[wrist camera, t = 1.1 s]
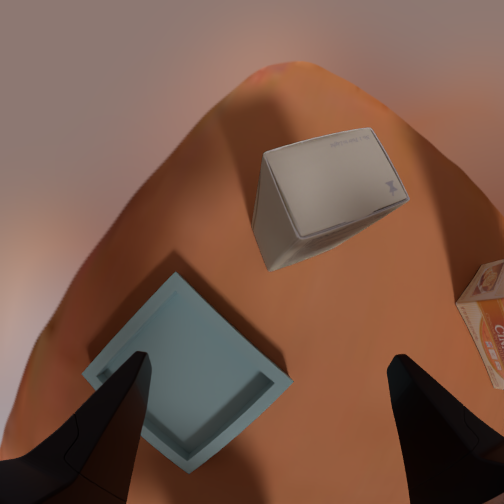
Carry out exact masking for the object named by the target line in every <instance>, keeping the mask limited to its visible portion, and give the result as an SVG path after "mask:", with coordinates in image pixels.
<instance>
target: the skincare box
mask: <svg viewBox="0 0 504 504" xmlns="http://www.w3.org/2000/svg"><path fill="white" fill-rule="evenodd" d="M409 200H410V198H409V196H408V194H407V192H406V190H405V188H404V185H403V183H402V181H401V179H400V177H399V175H398V173H397V171H396V169H395V167H394V166H393V164H392V162H391V160H390V158H389V156H388V154H387V152H386V151H385V149H384V147H383V146H382V144H381V142H380V141H379V139H378V137H377V136H376V134H375V133H374V131H373V130H372V129H371V128H360V129H354V130H348V131H343V132H338V133H333V134H328V135H324V136H320V137H316V138H312V139H308V140H304V141H300V142H296V143H293V144H289V145H286V146H282V147H278V148H275V149H272V150H269V151H266V152H264V153H263V157H262V163H261V170H260V176H259V181H258V188H257V194H256V200H255V206H254V212H253V218H252V223H251V227H252V230H253V232H254V235H255V238H256V241H257V244H258V246H259V249H260V252H261V255H262V257H263V260H264V262H265V265H266V267H267V270H268V271H270V272H271V271H274V270H277V269H280V268H283V267H286V266H289V265H292V264H295V263H297V262H300V261H303V260H305V259H308V258H311V257H313V256H316V255H319V254H321V253H323V252H326V251H328V250H331V249H333V248H335V247H336V246H338V245H340V244H341V243H343V242H344V241H346V240H348V239H349V238H351V237H353V236H354V235H356V234H357V233H359V232H361V231H362V230H364V229H366V228H367V227H369V226H370V225H372V224H374V223H375V222H377V221H378V220H380V219H382V218H383V217H385V216H386V215H388V214H389V213H391V212H393V211H394V210H396V209H397V208H399V207H400V206H402V205H403V204H405V203H406V202H408V201H409Z"/></svg>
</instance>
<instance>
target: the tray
mask: <svg viewBox="0 0 504 504" xmlns="http://www.w3.org/2000/svg"><path fill="white" fill-rule="evenodd" d="M135 351H143V352H147V353H148V355H149V359H150V362H151V365H152V375H151V382H150V389H149V397H148V404H147V410H146V415H145V419H144V423H143V427H142V431H141V436H142V437H143V438H144V439H145V440H146V441H148V442H149V443H150V444H151V445H152V446H153V447H155V448H156V449H157V450H158V451H159V452H161V453H162V454H163V455H164V456H166V457H167V458H168V459H169V460H171V461H172V462H173V463H175V464H176V465H177V466H179V467H180V468H181V469H183V470H184V471H185V472H187V473H188V474H190V473H191V472H193V471H194V470H195V469H197V468H198V467H199V466H201V465H202V464H203V463H204V462H206V461H207V460H208V459H209V458H211V457H212V456H213V455H214V454H216V453H217V452H218V451H219V450H221V449H222V448H223V447H224V446H225V445H227V444H228V443H229V442H230V441H231V440H233V439H234V438H235V437H236V436H237V435H238V434H239V433H241V432H242V431H243V430H244V429H245V428H246V427H247V426H248V425H250V424H251V423H252V422H253V421H254V420H255V419H256V418H257V417H258V416H259V415H260V414H262V413H263V412H264V411H265V410H266V409H267V408H268V407H269V406H270V405H271V404H272V403H273V402H274V401H275V400H276V399H277V398H278V397H279V396H280V395H281V394H282V393H283V392H284V391H285V390H286V389H287V388H288V387H289V386H290V385H291V384H292V383H293V382H294V381H293V380H292V379H291V378H290V376H289V375H287V374H286V373H285V372H284V371H283V370H282V369H280V368H279V367H278V366H277V365H276V364H275V363H274V362H272V361H271V360H270V359H269V358H268V357H267V356H266V355H264V354H263V353H262V352H261V351H260V350H259V349H258V348H257V347H256V346H254V345H253V344H252V343H251V342H250V341H249V340H248V339H247V338H246V337H245V336H243V335H242V334H241V333H240V332H239V331H238V330H237V329H236V328H235V327H234V326H233V325H232V324H230V323H229V322H228V321H227V320H226V319H225V318H224V317H223V316H222V315H221V314H220V313H219V312H218V311H217V310H216V309H215V308H214V307H213V306H212V305H211V304H210V303H209V302H208V301H206V300H205V299H204V298H203V297H202V296H201V295H200V294H199V293H198V292H197V291H196V290H195V289H194V288H193V287H192V286H191V285H190V284H189V283H188V282H187V281H186V280H185V279H184V278H183V277H182V276H181V275H180V274H179V273H177V272H176V271H175V273H174V274H173V275H172V276H171V277H170V278H169V279H168V280H167V281H166V282H165V283H164V284H163V285H162V286H161V287H160V288H159V289H158V290H157V291H156V292H155V293H154V294H153V295H152V297H151V298H150V299H149V300H148V301H147V302H146V303H145V304H144V305H143V306H142V307H141V308H140V309H139V310H138V312H137V313H136V314H135V315H134V316H133V317H132V318H131V319H130V320H129V321H128V322H127V323H126V325H125V326H124V327H123V328H122V329H121V330H120V331H119V332H118V333H117V334H116V336H115V337H114V338H113V339H112V340H111V341H110V342H109V343H108V344H107V346H106V347H105V348H104V349H103V350H102V351H101V352H100V353H99V355H98V356H97V357H96V358H95V359H94V360H93V361H92V363H91V364H90V365H89V366H88V367H87V368H86V369H85V371H84V372H83V373H82V375H83V376H84V377H85V379H86V380H87V381H88V382H89V383H90V384H91V386H92V387H93V388H94V389H95V390H97V389H98V388H99V387H100V386H101V385H102V384H103V383H104V382H105V381H106V380H107V379H108V378H109V377H110V376H111V375H112V374H113V373H114V372H115V371H116V370H117V369H118V368H119V367H120V366H121V365H122V364H123V363H124V362H125V361H126V360H127V359H128V358H129V357H130V356H131V355H132V354H133V353H134V352H135Z"/></svg>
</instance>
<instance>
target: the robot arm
mask: <svg viewBox="0 0 504 504" xmlns="http://www.w3.org/2000/svg"><path fill="white" fill-rule="evenodd" d="M151 375H152V365H151V362H150V359H149V355H148V353H147V352H143V351H135V352H134V353H133V354H132V355H131V356H130V357H129V358H128V359H127V360H126V361H125V362H124V363H123V364H122V365H121V366H120V367H119V368H118V369H117V370H116V371H115V372H114V373H113V374H112V375H111V376H110V377H109V378H108V379H107V380H106V381H105V382H104V383H103V384H102V385H101V386H100V387H99V388H98V389H97V390H96V391H95V392H94V393H93V394H92V395H91V396H90V398H89V399H88V400H87V401H86V402H85V403H84V404H83V405H82V406H81V407H80V408H79V409H78V410H77V411H76V412H75V414H73V415H72V416H71V417H70V418H69V419H68V420H67V421H66V422H65V423H64V424H63V425H62V426H61V427H60V428H58V429H57V430H56V431H55V432H54V433H53V434H51V435H50V436H49V437H48V438H47V439H45V440H44V441H43V442H41V443H40V444H39V445H38V446H36V447H35V448H34V449H33V450H31V451H30V452H29V453H27V454H26V455H24V456H21V457H19V458H15V459H10V460H3V461H0V504H126V502H127V497H128V491H129V486H130V481H131V476H132V471H133V466H134V462H135V457H136V453H137V448H138V444H139V440H140V435H141V431H142V427H143V423H144V419H145V415H146V410H147V404H148V397H149V389H150V382H151ZM387 377H388V384H389V390H390V397H391V404H392V409H393V414H394V418H395V422H396V426H397V431H398V435H399V440H400V445H401V450H402V455H403V460H404V465H405V471H406V477H407V483H408V490H409V498H410V504H504V437H503V436H502V435H500V434H499V433H497V432H496V431H495V430H493V429H492V428H491V427H489V426H488V425H487V424H485V423H484V422H483V421H481V420H480V419H479V418H478V417H476V416H475V415H474V414H473V413H472V412H471V411H469V410H468V409H467V408H466V407H465V406H463V404H462V403H461V402H459V401H458V400H457V399H456V398H455V397H454V396H453V395H452V394H450V393H449V392H448V391H447V390H446V389H445V388H444V387H443V386H441V385H440V384H439V383H438V382H437V381H436V380H435V379H434V378H432V377H431V376H430V375H429V374H428V373H427V372H426V371H424V370H423V369H422V368H421V367H420V366H419V365H418V364H416V363H415V362H414V361H413V360H412V359H411V358H410V357H408V356H407V355H406V354H398V355H395V356H394V358H393V360H392V361H391V363H390V365H389V366H388V369H387Z"/></svg>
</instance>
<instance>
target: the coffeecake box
mask: <svg viewBox="0 0 504 504" xmlns="http://www.w3.org/2000/svg"><path fill="white" fill-rule="evenodd" d="M456 306H457V308H458V310H459V312H460V314H461V315H462V317H463V319H464V321H465V323H466V325H467V327H468V329H469V331H470V333H471V335H472V337H473V339H474V342H475V344H476V346H477V348H478V350H479V353H480V355H481V357H482V359H483V362H484V364H485V366H486V369H487V371H488V374H489V376H490V379H491V382H492V384H493V387H494V388H497V389H502V390H504V259H502V260H498V261H494V262H490V263H487V264H483V265H481V267H480V268H479V270H478V272H477V273H476V275H475V276H474V278H473V280H472V281H471V283H470V284H469V285H468V287H467V288H466V289H465V290H464V292H463V293H462V295H461V296H460V298H459V299H458V300H457V302H456Z"/></svg>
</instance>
